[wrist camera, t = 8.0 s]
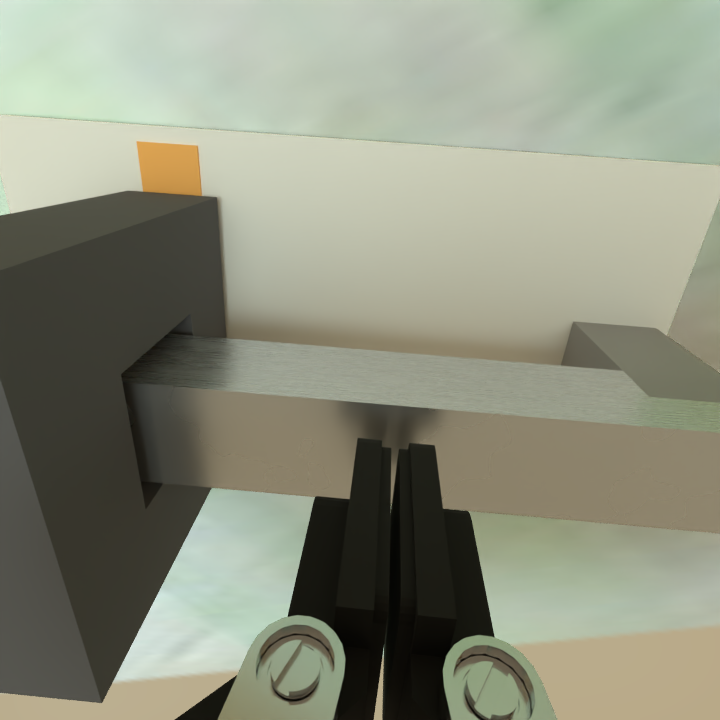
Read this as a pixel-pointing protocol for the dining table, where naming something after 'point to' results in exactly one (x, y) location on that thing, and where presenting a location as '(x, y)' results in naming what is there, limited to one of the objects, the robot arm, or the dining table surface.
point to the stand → (414, 240)
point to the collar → (90, 426)
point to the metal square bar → (424, 429)
